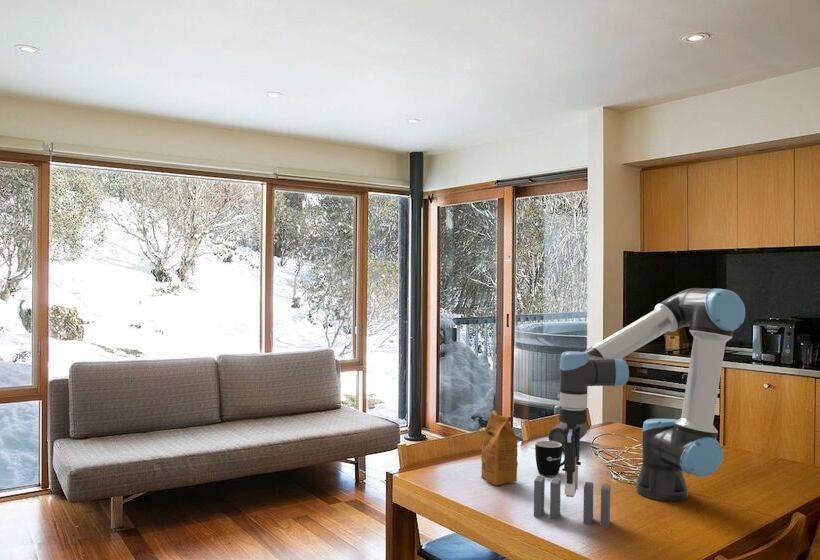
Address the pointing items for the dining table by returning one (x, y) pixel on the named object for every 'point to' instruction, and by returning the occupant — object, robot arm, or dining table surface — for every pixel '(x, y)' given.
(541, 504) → the domino
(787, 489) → the dining table surface
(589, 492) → the domino
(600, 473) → the dining table surface
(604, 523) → the domino
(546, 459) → the mug
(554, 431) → the bluetooth speaker
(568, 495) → the domino
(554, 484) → the domino
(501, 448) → the coffee package
